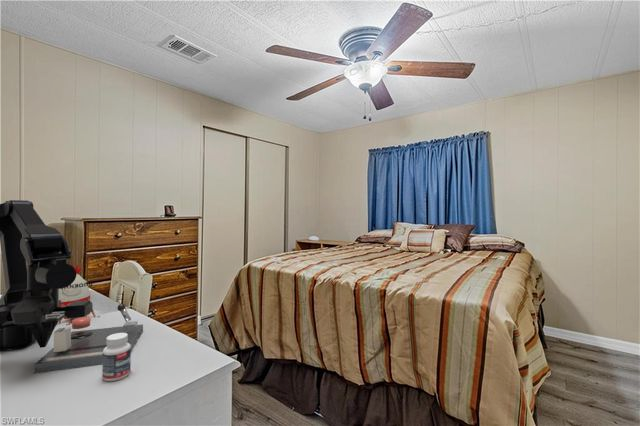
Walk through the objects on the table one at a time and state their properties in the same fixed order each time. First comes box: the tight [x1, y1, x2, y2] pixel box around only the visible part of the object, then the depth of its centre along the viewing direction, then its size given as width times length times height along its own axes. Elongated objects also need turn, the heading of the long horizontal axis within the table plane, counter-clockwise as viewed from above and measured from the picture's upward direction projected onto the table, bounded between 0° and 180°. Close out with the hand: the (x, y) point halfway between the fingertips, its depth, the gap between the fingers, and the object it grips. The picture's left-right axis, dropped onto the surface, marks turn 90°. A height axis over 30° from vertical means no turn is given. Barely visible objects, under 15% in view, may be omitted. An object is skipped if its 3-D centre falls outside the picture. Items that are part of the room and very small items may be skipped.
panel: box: [33, 320, 144, 374], centre depth 82 cm, size 18×20×4 cm
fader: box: [53, 326, 72, 352], centre depth 76 cm, size 2×3×5 cm
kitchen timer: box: [59, 263, 91, 306], centre depth 124 cm, size 14×14×15 cm
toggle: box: [116, 303, 132, 323], centre depth 89 cm, size 2×2×5 cm
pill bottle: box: [101, 333, 132, 382], centre depth 69 cm, size 5×5×9 cm
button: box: [71, 316, 91, 330], centre depth 86 cm, size 4×4×2 cm
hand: (43, 346), depth 75 cm, fingers closed
